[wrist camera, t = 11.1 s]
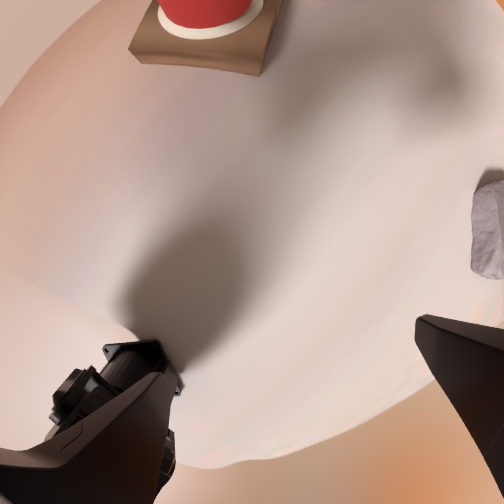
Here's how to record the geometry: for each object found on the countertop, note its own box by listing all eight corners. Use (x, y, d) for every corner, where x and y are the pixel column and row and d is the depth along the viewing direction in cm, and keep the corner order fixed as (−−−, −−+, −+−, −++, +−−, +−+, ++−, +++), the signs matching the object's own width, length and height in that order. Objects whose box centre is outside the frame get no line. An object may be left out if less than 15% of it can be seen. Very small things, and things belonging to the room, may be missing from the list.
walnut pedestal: (259, 76, 18) (260, 58, 15) (141, 63, 17) (126, 48, 14) (284, -6, 16) (288, -26, 13) (179, -15, 15) (172, -34, 12)
